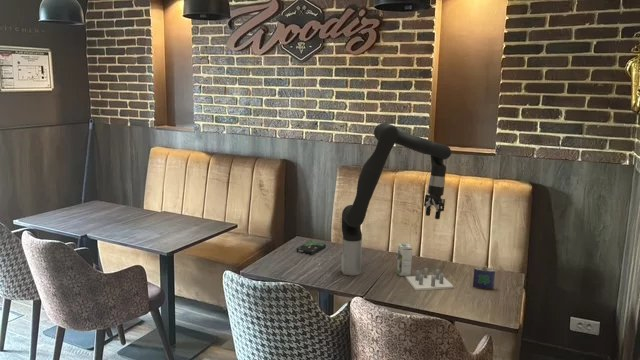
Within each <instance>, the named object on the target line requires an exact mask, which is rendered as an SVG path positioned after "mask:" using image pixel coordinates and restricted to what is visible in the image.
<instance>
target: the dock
mask: <svg viewBox="0 0 640 360" xmlns="http://www.w3.org/2000/svg"><path fill="white" fill-rule="evenodd" d="M440 271H441V270H440V269H439V268H435V275H434V274H430V275H428V272H429V268H428V267H424V268H423V274H422V273H420V270H419V269H417V270H416V269H415V275H414V276H413V275H411V276H405V280H407V282H408V283H409V285H410V286H411V287H412V288H413V289H414V290H415V291H432V290H433V291H435V290H447V289H448V290H452V289H454V286H453V284H452V283H451V282H450V281H449V280H447V278H446V277H444V276H445V273H443V272H440Z"/></svg>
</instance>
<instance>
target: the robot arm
mask: <svg viewBox="0 0 640 360" xmlns="http://www.w3.org/2000/svg"><path fill="white" fill-rule="evenodd" d="M373 135H374V137H375V139H376V141H377V144H376V146H375V149H374V150H373V152H372V154H371V156H370V157H369V158H367V160H366V161H365V163H364V164H363V166H362V169H361V171H360V173H359V175H358V179H357V184H356V185H357V186H356V195H355V198H354V200H353V203H352V204H348V205H347V206H345V207H344V208H343V210H342V213H341V232H342V251H341V257H340V259H341V263H340V264H341V265H340V266H341V268H340V271H341V273H342V274H343V275H345V276H351V277H352V276H358V275H359V276H360V274H361V273H362V250H363V249H362V247H363V233H362V230H361V226H362V224H363V223H364V221H365V218H366V215H367V212H368V208H369V205H370V201H371V200H372V197H373V194H374V192H375V190H376V188H377V186H378V183H379V181H380V179H381V175H382V172H383V170H384V167H385V165H386V163H387V160H388V157H389V155H390V153H391V151H392V149H393V148H394V145H395V144H396V145H399V146H402V147H404V148H406V149H410V150H412V151H415V152H416V153H420V154H422V155H427V156H430V162H431V169H430V177H429V180H428V188H427V189H428V190H427V194H425V196H424V203H423V206H424V207H425V216H427V217H428V216H429V217H430V216H431V212H432V211H431V210H432V207H434V208H435V215H434V219H435V220H440V218H441V213H442V212H444V211H445V205H446V199H445V198H442V196H444V192H445V184H446V172H447V166H446V165H445V164H444V160H447V159H449V158H450V157H451V156H452V150H451V147H449V146H448V145H446V144H442V143H439V142H435V141H432V140H430V139H427V138H423V137H420V136H417V135H414V134H409V133H406V132H403V131H400V130H398V129H397V127H396V126H395V125H393V124H390V123H385V122H382V123H379V124H377V125H376V126H375V127H374V130H373Z"/></svg>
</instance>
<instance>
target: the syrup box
mask: <svg viewBox="0 0 640 360" xmlns="http://www.w3.org/2000/svg"><path fill="white" fill-rule="evenodd" d="M397 249H398V250H397V251H398V252H397V262H396V263H397V264H396V265H397V266H396V273H397V274H398V275H399V277H408V276H412V259H413V258H412V256H413V247H412V245H411V244H409V243H398V248H397Z"/></svg>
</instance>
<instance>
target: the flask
mask: <svg viewBox="0 0 640 360" xmlns="http://www.w3.org/2000/svg"><path fill="white" fill-rule="evenodd" d="M487 267H488V265H484V266H483V267H480V266H478V267H474V269H473V282H472V287H473V288H475V289H480V290H491V291H492V290H494V288H495V278H496V270H495V269H489V268H487Z"/></svg>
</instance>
